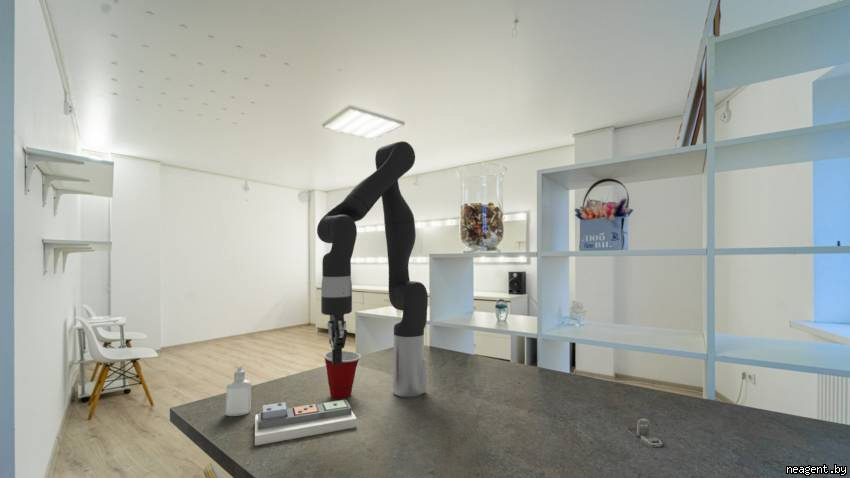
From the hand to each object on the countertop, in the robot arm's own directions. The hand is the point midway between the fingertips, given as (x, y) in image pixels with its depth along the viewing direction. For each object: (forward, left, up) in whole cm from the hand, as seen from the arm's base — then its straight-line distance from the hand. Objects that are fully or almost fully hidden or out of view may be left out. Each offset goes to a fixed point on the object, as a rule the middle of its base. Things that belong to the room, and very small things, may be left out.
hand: (336, 363), depth 93 cm
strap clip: (-62, +37, -14) cm, 73 cm away
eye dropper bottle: (+22, -14, -14) cm, 30 cm away
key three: (+7, 0, -11) cm, 14 cm away
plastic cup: (-5, -16, -14) cm, 22 cm away
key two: (+14, 0, -10) cm, 17 cm away
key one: (0, 0, -12) cm, 12 cm away
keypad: (+7, 0, -14) cm, 15 cm away
